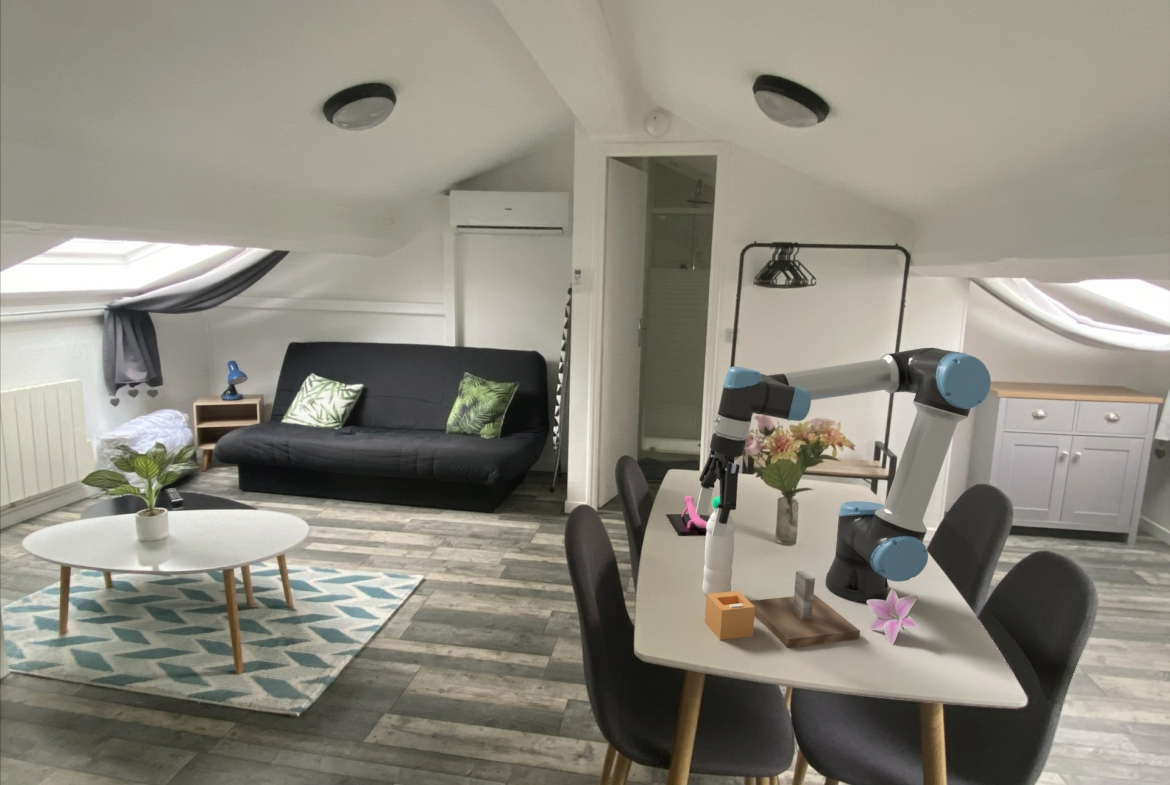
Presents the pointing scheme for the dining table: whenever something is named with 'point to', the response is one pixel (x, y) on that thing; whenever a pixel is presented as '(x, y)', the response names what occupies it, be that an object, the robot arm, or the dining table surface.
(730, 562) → the water bottle
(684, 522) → the lizard figurine
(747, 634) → the orange slotted box
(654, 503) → the dining table surface
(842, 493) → the dining table surface
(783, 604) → the board
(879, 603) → the lily
